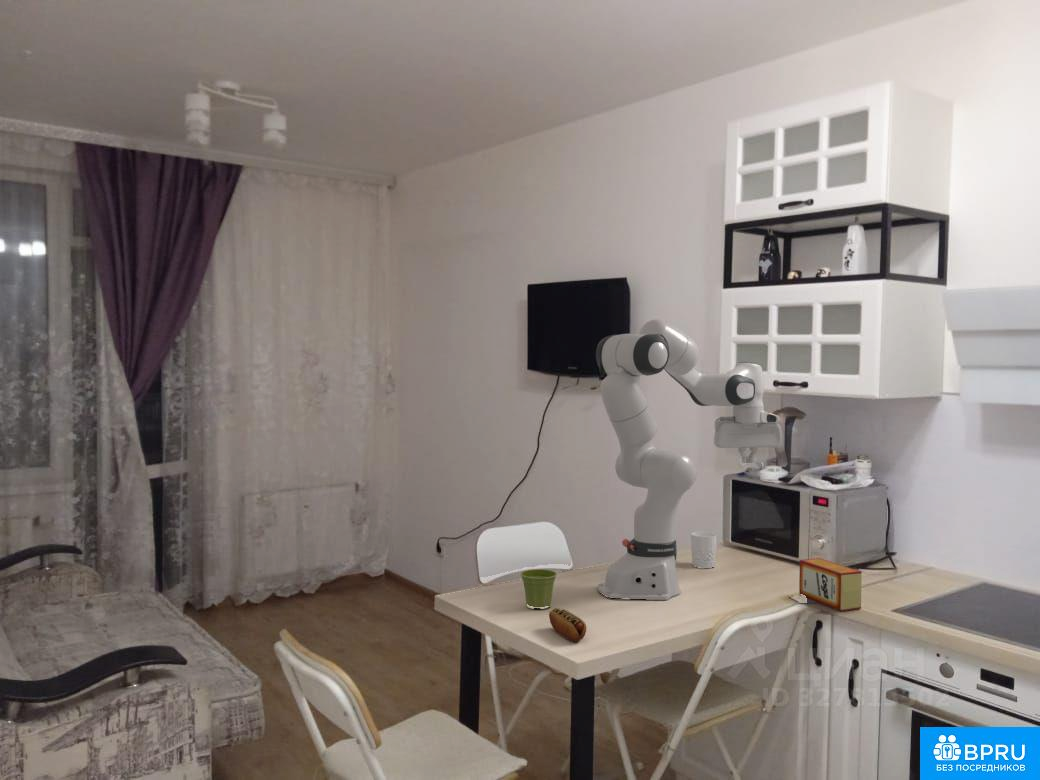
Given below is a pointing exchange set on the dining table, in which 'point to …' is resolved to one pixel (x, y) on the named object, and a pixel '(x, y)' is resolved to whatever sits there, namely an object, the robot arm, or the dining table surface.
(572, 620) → the hot dog
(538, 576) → the plant pot
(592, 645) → the dining table surface
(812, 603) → the mat
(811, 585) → the baking soda box
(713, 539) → the white cup
